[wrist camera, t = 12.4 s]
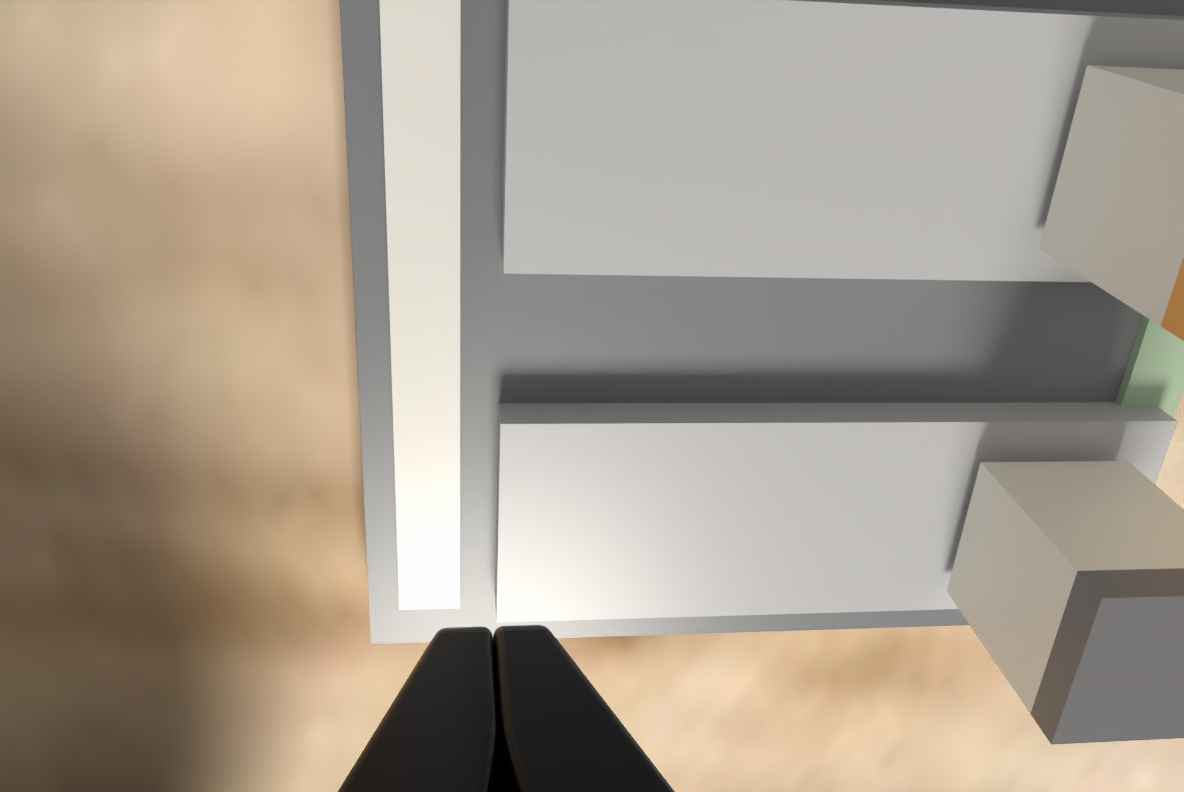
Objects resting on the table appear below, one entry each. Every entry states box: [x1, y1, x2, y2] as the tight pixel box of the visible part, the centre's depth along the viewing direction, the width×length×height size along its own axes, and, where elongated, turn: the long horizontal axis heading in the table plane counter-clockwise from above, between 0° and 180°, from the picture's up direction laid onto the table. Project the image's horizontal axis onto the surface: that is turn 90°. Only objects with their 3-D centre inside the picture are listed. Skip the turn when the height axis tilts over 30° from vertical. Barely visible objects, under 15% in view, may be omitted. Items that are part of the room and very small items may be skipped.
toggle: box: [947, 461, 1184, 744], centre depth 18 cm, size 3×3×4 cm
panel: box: [340, 0, 1184, 644], centre depth 18 cm, size 21×16×2 cm
